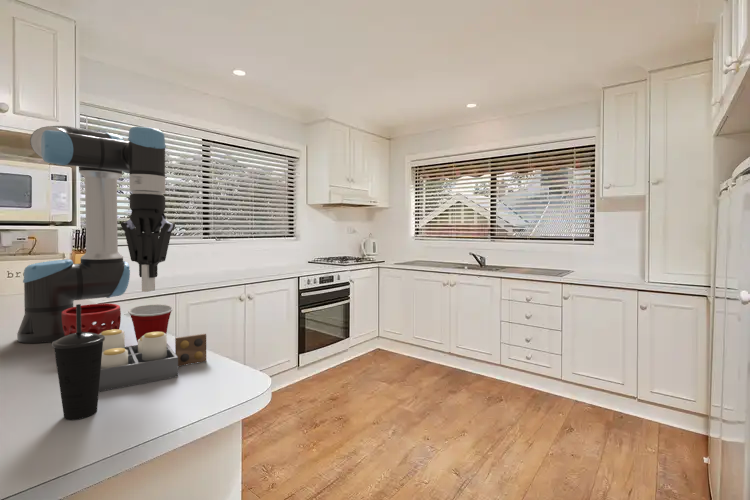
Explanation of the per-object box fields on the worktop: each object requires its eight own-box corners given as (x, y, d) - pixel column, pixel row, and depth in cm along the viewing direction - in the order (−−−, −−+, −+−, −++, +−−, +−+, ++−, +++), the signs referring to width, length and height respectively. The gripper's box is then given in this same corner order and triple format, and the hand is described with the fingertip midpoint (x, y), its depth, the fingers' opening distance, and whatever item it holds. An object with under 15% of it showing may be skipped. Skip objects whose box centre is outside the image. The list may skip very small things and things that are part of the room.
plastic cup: (128, 359, 102) (128, 313, 102) (128, 348, 111) (127, 306, 111) (175, 353, 108) (175, 309, 108) (171, 343, 117) (171, 303, 117)
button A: (98, 353, 94) (98, 330, 93) (123, 349, 97) (123, 327, 96) (99, 359, 90) (99, 335, 89) (125, 355, 93) (125, 332, 92)
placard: (175, 365, 98) (175, 337, 98) (205, 360, 103) (205, 333, 102) (176, 366, 97) (176, 338, 97) (206, 361, 102) (206, 334, 101)
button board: (90, 370, 94) (89, 351, 94) (165, 358, 104) (165, 341, 104) (92, 392, 81) (92, 371, 81) (178, 376, 91) (178, 357, 91)
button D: (140, 356, 92) (140, 333, 92) (164, 352, 95) (164, 330, 95) (143, 361, 88) (143, 337, 88) (168, 357, 91) (168, 334, 91)
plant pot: (62, 349, 110) (61, 306, 110) (119, 341, 118) (118, 301, 118) (62, 361, 100) (60, 314, 99) (123, 352, 108) (122, 308, 107)
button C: (100, 373, 88) (100, 349, 87) (127, 369, 91) (126, 345, 90) (101, 380, 84) (101, 355, 83) (129, 375, 87) (129, 351, 86)
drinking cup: (72, 405, 76) (70, 300, 75) (114, 404, 76) (113, 300, 75) (42, 424, 68) (39, 308, 67) (89, 423, 69) (87, 308, 68)
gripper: (111, 192, 93) (112, 292, 94) (161, 192, 91) (162, 294, 93) (134, 194, 101) (135, 287, 102) (182, 195, 99) (182, 289, 100)
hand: (148, 290), depth 97 cm, fingers closed
